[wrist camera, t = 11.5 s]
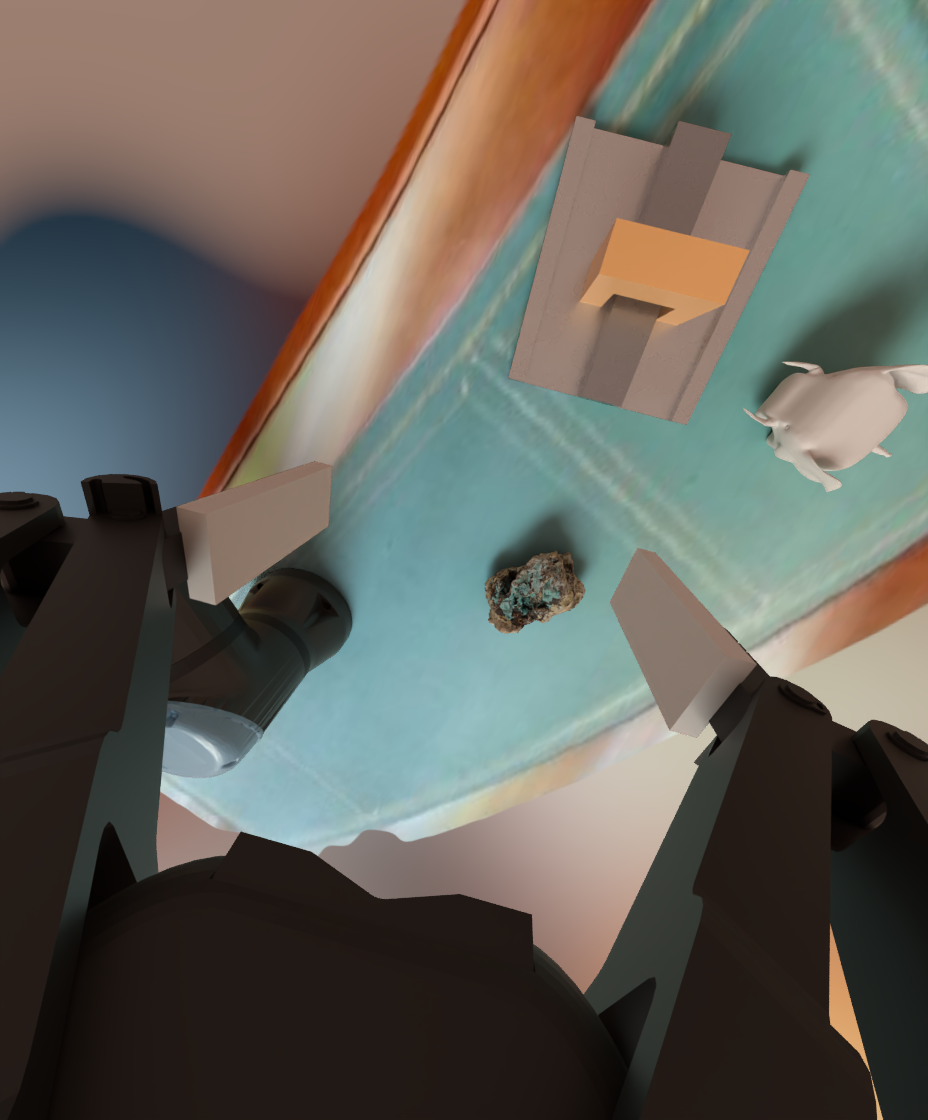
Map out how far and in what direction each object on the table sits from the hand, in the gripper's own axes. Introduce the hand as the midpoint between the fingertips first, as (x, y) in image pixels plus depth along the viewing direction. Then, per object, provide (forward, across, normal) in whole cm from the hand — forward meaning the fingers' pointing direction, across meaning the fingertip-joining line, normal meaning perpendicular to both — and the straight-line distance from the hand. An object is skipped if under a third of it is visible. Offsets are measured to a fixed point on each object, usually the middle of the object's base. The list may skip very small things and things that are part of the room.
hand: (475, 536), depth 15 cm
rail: (+27, +8, +16) cm, 32 cm away
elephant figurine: (+27, +27, +10) cm, 39 cm away
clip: (+26, +8, +16) cm, 31 cm away
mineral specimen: (+27, +8, -15) cm, 32 cm away
